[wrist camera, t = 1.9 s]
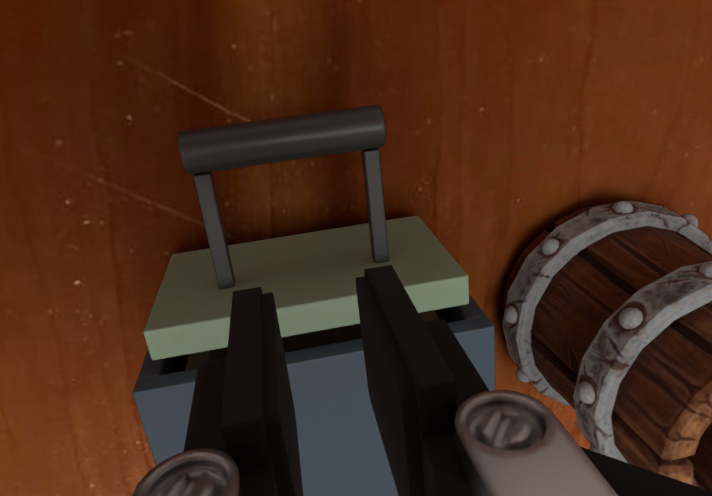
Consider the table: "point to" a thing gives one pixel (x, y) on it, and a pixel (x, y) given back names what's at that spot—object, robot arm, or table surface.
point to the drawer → (293, 245)
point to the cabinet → (313, 407)
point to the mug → (622, 332)
